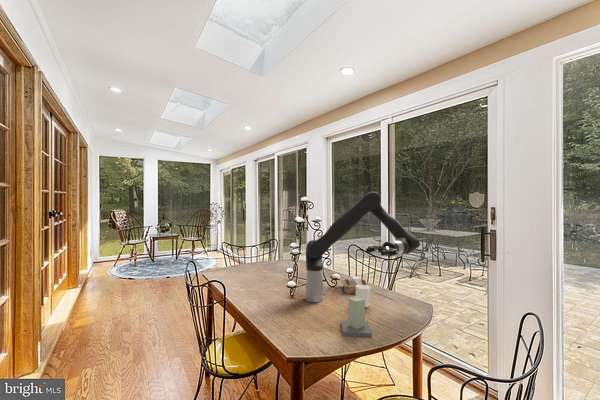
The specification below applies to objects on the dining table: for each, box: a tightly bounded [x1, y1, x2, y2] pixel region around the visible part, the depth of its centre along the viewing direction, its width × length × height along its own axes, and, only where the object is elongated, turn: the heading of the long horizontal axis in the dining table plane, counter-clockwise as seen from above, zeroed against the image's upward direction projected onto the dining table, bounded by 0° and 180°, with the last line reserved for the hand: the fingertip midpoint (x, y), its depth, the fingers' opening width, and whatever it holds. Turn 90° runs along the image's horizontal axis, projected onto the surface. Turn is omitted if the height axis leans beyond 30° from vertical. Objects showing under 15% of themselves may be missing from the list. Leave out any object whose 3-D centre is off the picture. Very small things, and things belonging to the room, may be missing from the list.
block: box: [348, 295, 366, 329], centre depth 134 cm, size 5×5×12 cm
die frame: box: [342, 278, 369, 295], centre depth 189 cm, size 14×15×4 cm
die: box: [348, 275, 363, 286], centre depth 189 cm, size 8×9×10 cm
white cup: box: [355, 284, 372, 308], centre depth 163 cm, size 8×8×10 cm
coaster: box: [340, 319, 373, 338], centre depth 133 cm, size 12×12×2 cm
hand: (374, 252), depth 145 cm, fingers open, 8 cm apart
